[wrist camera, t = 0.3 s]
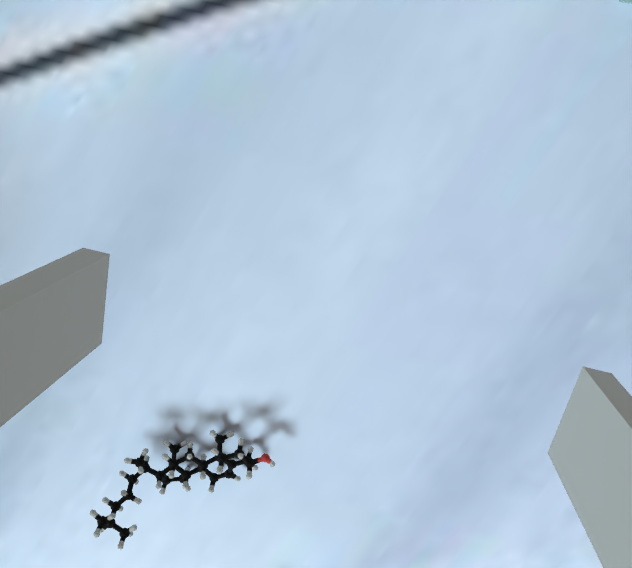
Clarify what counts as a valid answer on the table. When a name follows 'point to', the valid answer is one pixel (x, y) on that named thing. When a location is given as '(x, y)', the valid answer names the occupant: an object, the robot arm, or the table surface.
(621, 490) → the robot arm
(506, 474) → the table surface
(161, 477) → the molecular model
